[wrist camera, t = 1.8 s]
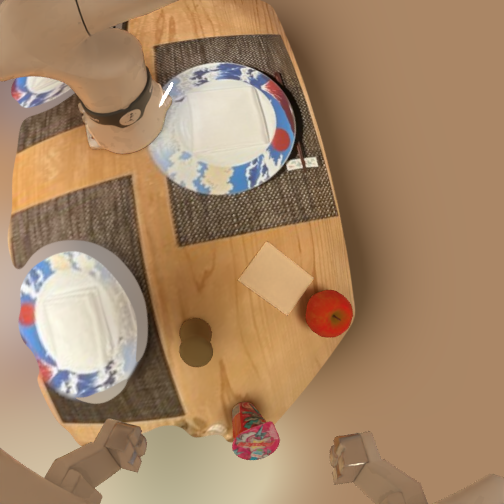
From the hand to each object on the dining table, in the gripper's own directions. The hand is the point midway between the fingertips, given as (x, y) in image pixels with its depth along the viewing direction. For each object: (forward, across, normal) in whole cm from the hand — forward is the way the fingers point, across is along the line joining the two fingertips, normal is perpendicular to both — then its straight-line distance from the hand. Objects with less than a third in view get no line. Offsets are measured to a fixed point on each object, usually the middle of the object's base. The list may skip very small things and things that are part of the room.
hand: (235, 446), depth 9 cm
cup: (+34, +2, +36) cm, 49 cm away
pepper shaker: (+36, +11, +18) cm, 42 cm away
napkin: (+42, -4, +9) cm, 43 cm away
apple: (+43, -11, +15) cm, 47 cm away
